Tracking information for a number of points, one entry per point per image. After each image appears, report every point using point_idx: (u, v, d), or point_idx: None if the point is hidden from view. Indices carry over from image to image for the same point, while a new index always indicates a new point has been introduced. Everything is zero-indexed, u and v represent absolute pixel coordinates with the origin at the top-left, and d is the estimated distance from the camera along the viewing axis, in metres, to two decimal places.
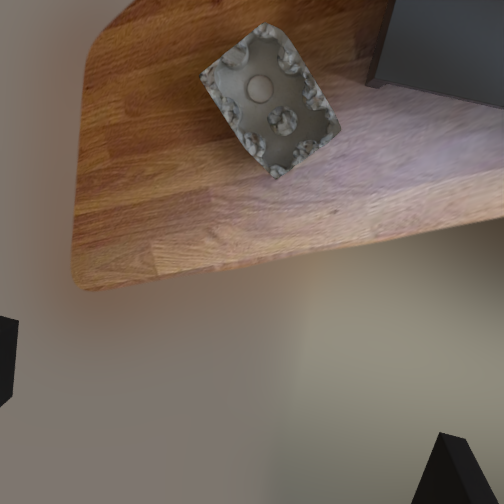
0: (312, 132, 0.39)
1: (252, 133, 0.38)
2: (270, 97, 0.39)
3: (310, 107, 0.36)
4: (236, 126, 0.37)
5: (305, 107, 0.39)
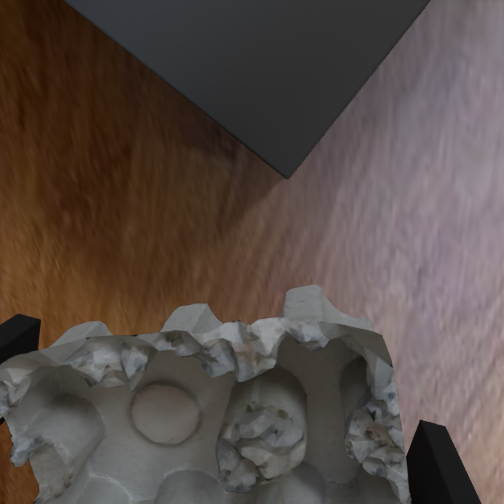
0: (331, 345, 0.13)
1: None
2: (196, 402, 0.14)
3: (260, 371, 0.11)
4: None
5: None
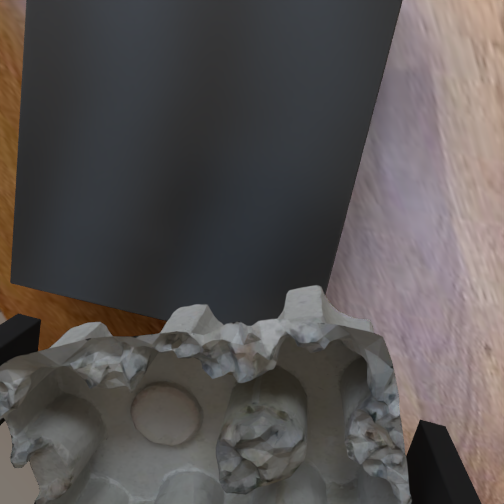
0: (331, 346, 0.13)
1: None
2: (196, 403, 0.14)
3: (261, 372, 0.11)
4: None
5: None
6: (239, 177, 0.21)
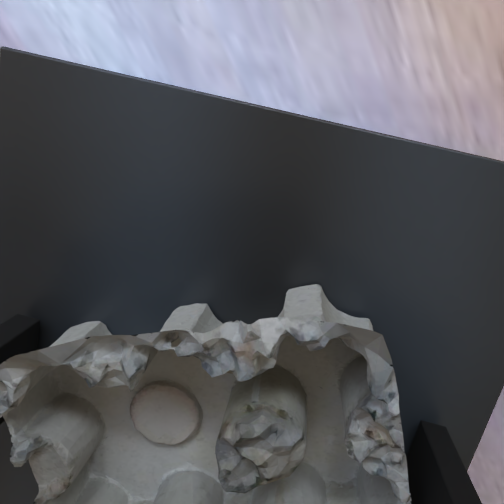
0: (331, 345, 0.13)
1: None
2: (196, 402, 0.14)
3: (260, 371, 0.11)
4: None
5: None
6: None
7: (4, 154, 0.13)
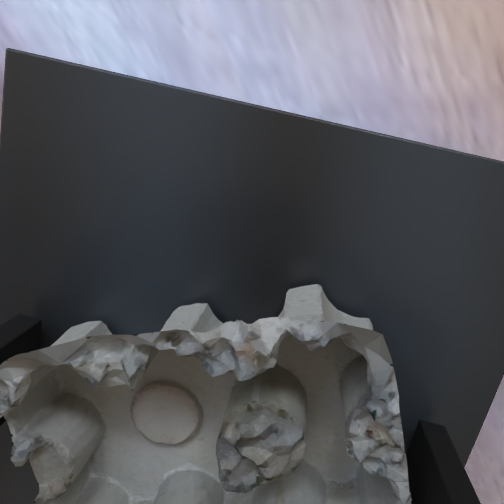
0: (331, 345, 0.13)
1: None
2: (196, 402, 0.14)
3: (261, 370, 0.11)
4: None
5: None
6: None
7: (9, 154, 0.13)
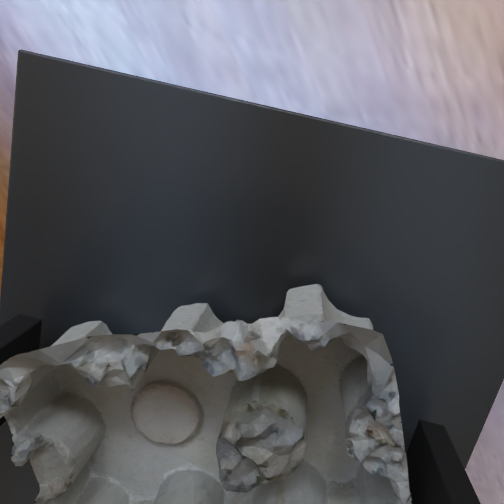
0: (331, 345, 0.13)
1: None
2: (196, 402, 0.14)
3: (261, 370, 0.11)
4: None
5: None
6: None
7: (21, 153, 0.14)
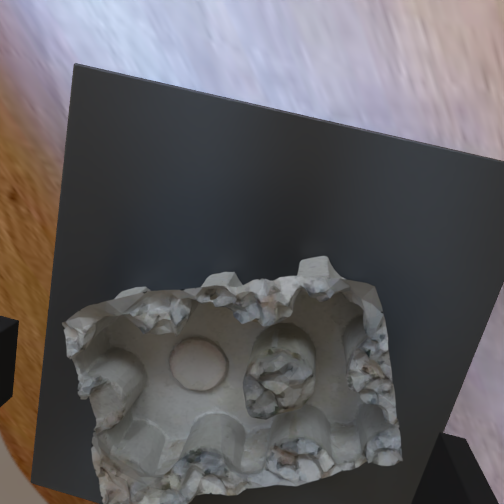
0: (336, 306, 0.16)
1: (273, 448, 0.16)
2: (224, 355, 0.17)
3: (280, 319, 0.14)
4: (241, 481, 0.15)
5: None
6: None
7: (73, 149, 0.16)
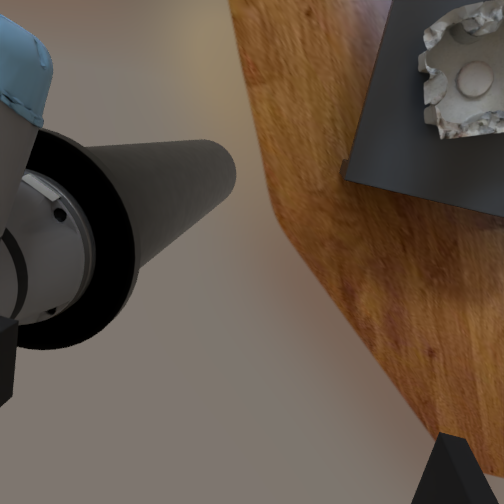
0: None
1: None
2: (492, 70, 0.29)
3: None
4: None
5: None
6: None
7: None
